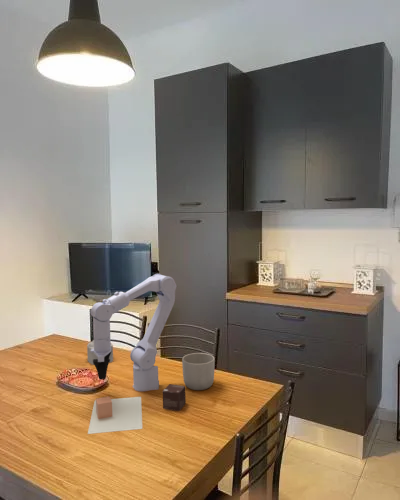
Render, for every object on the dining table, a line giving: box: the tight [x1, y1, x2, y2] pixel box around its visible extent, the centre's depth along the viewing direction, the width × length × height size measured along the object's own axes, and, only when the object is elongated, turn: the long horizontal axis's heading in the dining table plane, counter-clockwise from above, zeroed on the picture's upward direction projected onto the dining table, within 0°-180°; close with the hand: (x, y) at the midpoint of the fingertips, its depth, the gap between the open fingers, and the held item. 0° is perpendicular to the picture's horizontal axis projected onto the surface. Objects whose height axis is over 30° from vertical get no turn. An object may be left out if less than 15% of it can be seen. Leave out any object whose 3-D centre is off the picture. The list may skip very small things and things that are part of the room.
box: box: [162, 383, 187, 412], centre depth 135 cm, size 6×6×7 cm
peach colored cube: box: [95, 395, 112, 419], centre depth 130 cm, size 4×4×5 cm
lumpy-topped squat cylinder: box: [86, 339, 114, 366], centre depth 184 cm, size 10×13×9 cm
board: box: [87, 396, 143, 435], centre depth 131 cm, size 16×22×5 cm
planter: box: [181, 352, 216, 391], centre depth 154 cm, size 12×12×11 cm
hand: (103, 374), depth 142 cm, fingers open, 7 cm apart
